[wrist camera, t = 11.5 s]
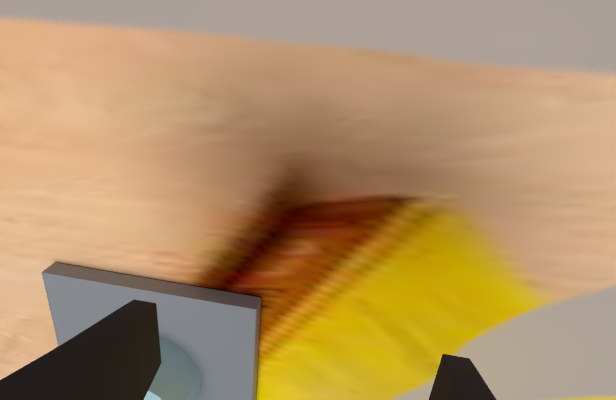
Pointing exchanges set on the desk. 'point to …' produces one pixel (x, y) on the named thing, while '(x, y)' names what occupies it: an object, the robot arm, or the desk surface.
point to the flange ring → (174, 375)
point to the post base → (168, 321)
